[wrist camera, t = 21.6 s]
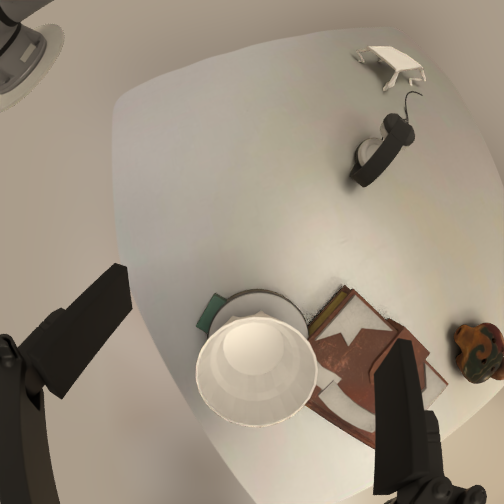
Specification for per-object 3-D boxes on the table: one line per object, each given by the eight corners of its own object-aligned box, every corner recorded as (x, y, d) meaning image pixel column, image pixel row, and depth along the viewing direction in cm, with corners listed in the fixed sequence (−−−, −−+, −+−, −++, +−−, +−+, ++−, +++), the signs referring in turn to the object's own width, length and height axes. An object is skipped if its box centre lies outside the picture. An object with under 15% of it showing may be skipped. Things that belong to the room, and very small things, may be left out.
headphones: (403, 122, 41) (359, 204, 36) (383, 105, 41) (332, 182, 36) (437, 90, 31) (403, 172, 26) (414, 70, 31) (371, 144, 26)
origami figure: (367, 94, 38) (379, 78, 33) (351, 54, 38) (361, 37, 33) (424, 99, 38) (439, 86, 34) (407, 62, 39) (420, 48, 34)
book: (266, 366, 36) (267, 383, 31) (347, 277, 36) (361, 282, 31) (371, 440, 37) (382, 457, 32) (439, 369, 36) (455, 380, 31)
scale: (183, 347, 35) (179, 355, 32) (230, 265, 36) (230, 266, 33) (273, 394, 35) (276, 404, 32) (321, 317, 36) (329, 322, 33)
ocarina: (474, 385, 37) (499, 400, 29) (429, 356, 38) (456, 372, 30) (499, 339, 37) (526, 348, 29) (457, 303, 38) (488, 310, 30)
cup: (303, 375, 32) (324, 412, 22) (220, 391, 32) (211, 433, 22) (289, 294, 33) (307, 305, 23) (201, 311, 32) (183, 329, 22)
